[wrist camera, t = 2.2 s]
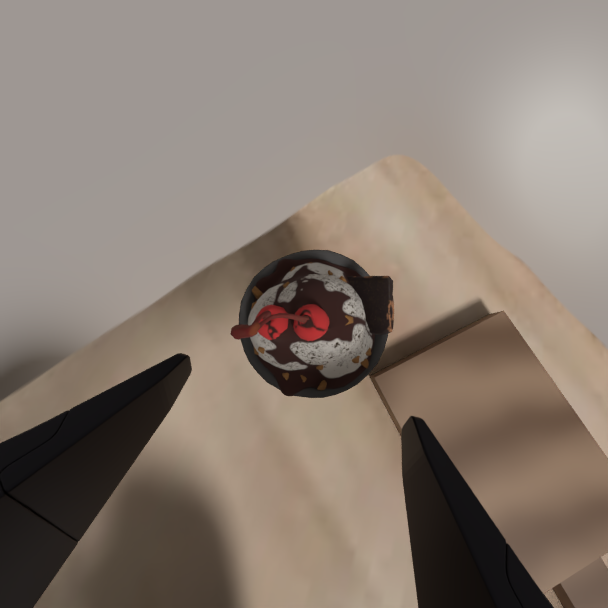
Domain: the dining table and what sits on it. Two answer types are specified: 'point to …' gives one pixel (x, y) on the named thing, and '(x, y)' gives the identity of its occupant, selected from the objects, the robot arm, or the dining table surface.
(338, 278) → the sundae
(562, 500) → the board
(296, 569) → the dining table surface
